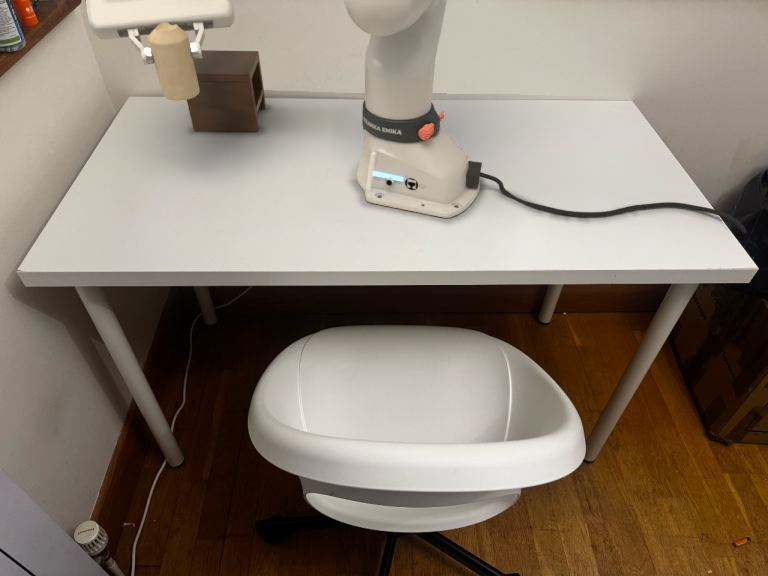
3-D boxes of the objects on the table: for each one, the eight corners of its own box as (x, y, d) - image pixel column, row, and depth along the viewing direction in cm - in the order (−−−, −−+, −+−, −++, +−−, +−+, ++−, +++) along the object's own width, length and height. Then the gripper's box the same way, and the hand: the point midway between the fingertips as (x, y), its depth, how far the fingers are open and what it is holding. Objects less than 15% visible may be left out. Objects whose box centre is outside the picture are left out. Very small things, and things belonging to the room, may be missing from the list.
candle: (160, 88, 88) (142, 21, 81) (195, 82, 90) (181, 16, 83) (166, 103, 84) (148, 35, 77) (203, 97, 86) (188, 29, 79)
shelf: (266, 106, 122) (258, 50, 114) (258, 132, 114) (249, 74, 106) (205, 105, 122) (193, 49, 114) (194, 131, 114) (179, 73, 106)
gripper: (69, -41, 77) (92, 58, 77) (221, -52, 82) (242, 42, 82) (82, -16, 83) (103, 76, 83) (223, -27, 88) (242, 60, 88)
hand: (173, 59), depth 83 cm, fingers closed on candle, 5 cm apart
